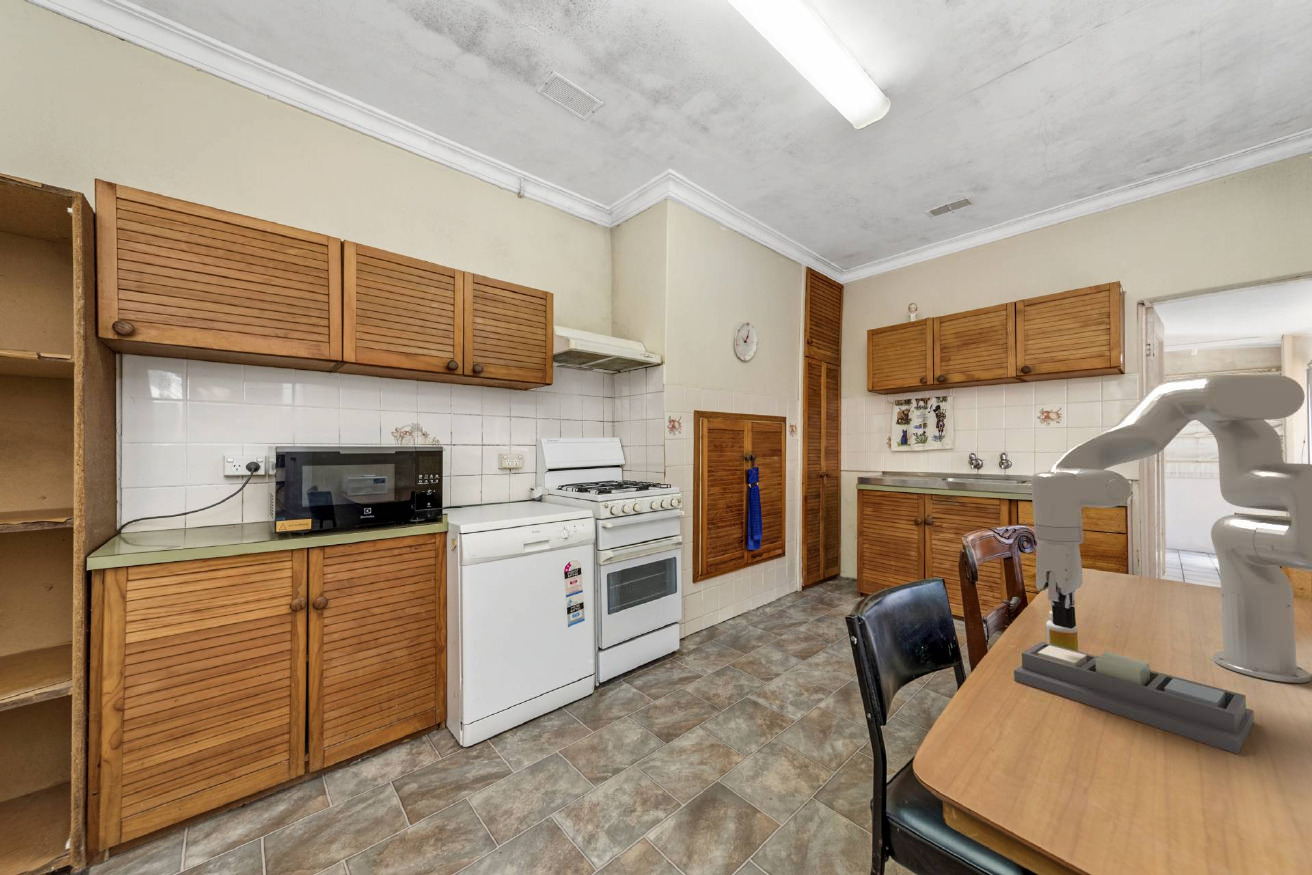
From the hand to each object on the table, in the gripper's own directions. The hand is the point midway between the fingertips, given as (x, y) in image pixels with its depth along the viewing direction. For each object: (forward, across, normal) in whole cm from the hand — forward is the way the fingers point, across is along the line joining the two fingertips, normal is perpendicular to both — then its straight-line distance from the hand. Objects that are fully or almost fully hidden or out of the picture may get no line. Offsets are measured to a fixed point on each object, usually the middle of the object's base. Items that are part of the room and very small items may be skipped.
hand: (1064, 625), depth 98 cm
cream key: (+8, +1, -1) cm, 8 cm away
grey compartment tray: (+11, +1, +8) cm, 14 cm away
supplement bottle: (+11, -12, -5) cm, 17 cm away
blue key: (+9, +1, +17) cm, 20 cm away
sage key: (+7, +1, +8) cm, 11 cm away
